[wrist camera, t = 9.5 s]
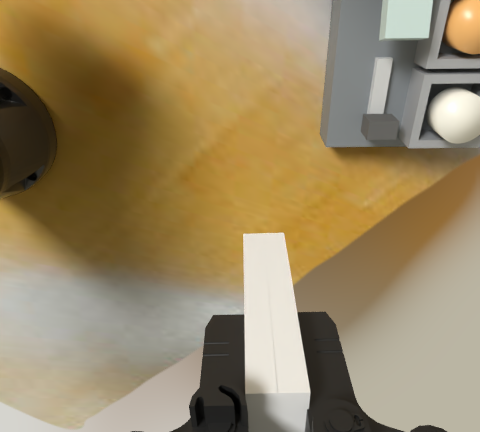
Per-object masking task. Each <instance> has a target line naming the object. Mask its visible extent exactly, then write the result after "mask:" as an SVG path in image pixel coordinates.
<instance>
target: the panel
mask: <svg viewBox="0 0 480 432" xmlns="http://www.w3.org/2000/svg"><path fill="white" fill-rule="evenodd" d="M382 1H383V0H333V1H332V12H331V22H330V33H329V43H328V54H327V64H326V75H325V85H324V96H323V107H322V117H321V128H320V136H321V138H322V140H323V142H324V144H325V146H326V147H399V146H407V147H408V148H480V135H479V136H477V137H476V138H474V139H473V140H471V141H468V142H465V143H460V144H455V143H451V142H448V141H446V140H445V139H444V138H443V137H441V136H440V135H439V134H438V133H437V132H435V131H434V130H433V129H432V128H431V127H430V126H429V125H428V123H427V119H426V112H427V108H428V106H429V104H430V102H431V100H432V99H433V98H434V97H435V96H436V95H437V94H438V93H440V92H441V91H443V90H445V89H447V88H451V87H461V88H464V89H466V90H468V91H470V92H472V93H474V94H476V95H478V96H479V97H480V54H468V53H465V52H462V51H459V50H457V49H454V48H451V47H449V46H447V45H446V44H445V43H444V42H443V41H442V36H443V32H444V27H445V23H446V19H447V14H448V10H449V6H450V4H451V3H452V2H453V1H454V0H433V5H432V13H431V22H430V30H429V38H427V39H423V40H390V41H379V35H380V24H381V12H382ZM363 114H392V115H393V116H394V117H396V118H397V119H398V120H399V121H400V122H399V127H398V132H397V137H396V140H366V138H365V137H364V136H363V134H362V133H361V125H362V118H363Z"/></svg>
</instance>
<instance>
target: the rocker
mask: <svg viewBox="0 0 480 432" xmlns="http://www.w3.org/2000/svg"><path fill="white" fill-rule="evenodd" d="M432 5H433V0H383V1H382V12H381V24H380V35H379V41H390V40H423V39H427V38H429V30H430V22H431V13H432Z"/></svg>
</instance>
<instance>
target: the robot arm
mask: <svg viewBox="0 0 480 432" xmlns="http://www.w3.org/2000/svg"><path fill="white" fill-rule="evenodd" d="M56 148H57V141H56V133H55V129H54V125H53V122H52V120H51V117H50V115H49V113H48V111H47V110H46V108H45V106H44V105H43V103H42V102H41V100H40V99H39V98H38V97H37V95H36V94H35V93H34V92H33V91H32V90H31V89H30V88H29V87H28V86H27V85H26V84H24V83H23V82H22V81H21V80H19V79H18V78H17V77H15V76H14V75H12V74H11V73H9V72H7V71H5V70H3V69H1V68H0V199H1V198H4V197H8V196H11V195H14V194H17V193H20V192H23V191H25V190H27V189H29V188H30V187H32V186H33V185H35V184H36V183H37V182H38V181H39V180H40V179H41V178H42V177H43V176H44V175H45V174H46V173H47V172H48V170H49V169H50V167H51V166H52V164H53V161H54V159H55V155H56ZM243 240H244V315H213V316H212V318H211V320H210V321H209V323H208V325H207V326H206V328H205V338H204V348H203V359H202V370H201V379H200V388H199V389H198V390H197V391H196V393H195V394H194V395H193V396H192V399H191V402H190V405H189V409H190V416H191V418H190V419H189V420H188V422H186V423H185V424H184V425H182V426H181V427H179V428H178V429H175V430H173V431H171V432H404V431H401V430H397V429H394V428H390V427H387V426H385V425H382V424H380V423H377V422H376V421H374V420H373V419H371V418H370V417H368V415H366V413H365V412H363V410H362V409H361V407H360V406H359V405H358V403H357V400H356V398H355V395H354V391H353V387H352V384H351V380H350V377H349V373H348V369H347V366H346V362H345V358H344V354H343V353H342V347H341V343H340V341H339V335H338V332H337V328H336V324H335V323H334V322H333V321H332V319H331V318H330V317H329V316H328V314H327V313H326V312H297V309H296V304H295V297H294V291H293V285H292V279H291V273H290V267H289V261H288V255H287V249H286V243H285V237H284V233H259V234H243ZM132 432H135V431H132ZM136 432H137V431H136ZM138 432H140V431H138ZM411 432H447V431H445V430H444V429H442V428H438V427H434V426H431V425H425V426H418V427H417V428H415V429H413V430H411Z"/></svg>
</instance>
